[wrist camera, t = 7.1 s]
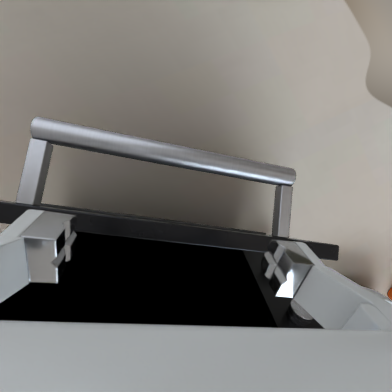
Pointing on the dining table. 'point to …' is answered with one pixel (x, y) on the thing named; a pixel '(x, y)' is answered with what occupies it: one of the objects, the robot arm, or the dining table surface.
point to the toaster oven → (157, 287)
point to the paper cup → (390, 293)
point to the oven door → (162, 154)
